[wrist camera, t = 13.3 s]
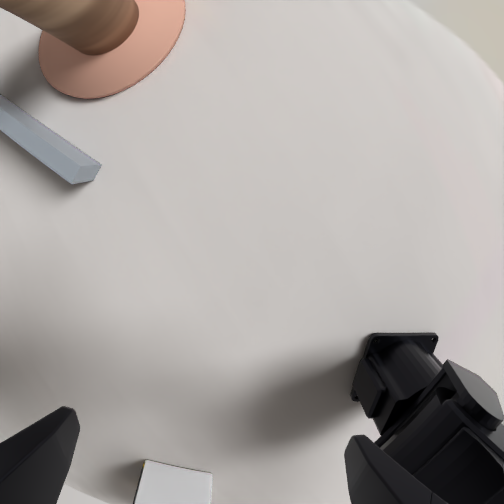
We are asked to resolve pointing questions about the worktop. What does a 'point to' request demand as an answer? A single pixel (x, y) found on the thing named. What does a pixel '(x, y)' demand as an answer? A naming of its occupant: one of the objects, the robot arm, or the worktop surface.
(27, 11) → the walnut cylinder
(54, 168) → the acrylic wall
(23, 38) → the worktop surface
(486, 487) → the robot arm
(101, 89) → the resting pad
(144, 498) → the medicine bottle
